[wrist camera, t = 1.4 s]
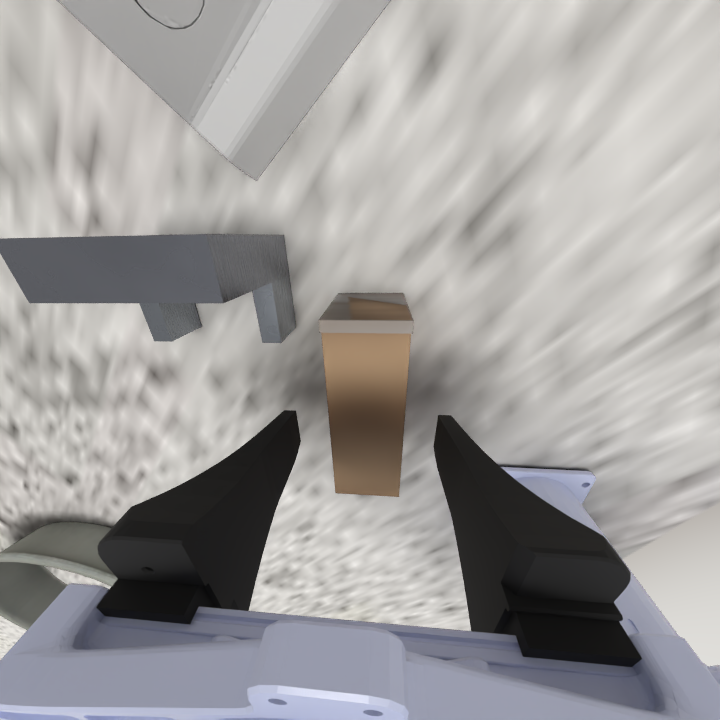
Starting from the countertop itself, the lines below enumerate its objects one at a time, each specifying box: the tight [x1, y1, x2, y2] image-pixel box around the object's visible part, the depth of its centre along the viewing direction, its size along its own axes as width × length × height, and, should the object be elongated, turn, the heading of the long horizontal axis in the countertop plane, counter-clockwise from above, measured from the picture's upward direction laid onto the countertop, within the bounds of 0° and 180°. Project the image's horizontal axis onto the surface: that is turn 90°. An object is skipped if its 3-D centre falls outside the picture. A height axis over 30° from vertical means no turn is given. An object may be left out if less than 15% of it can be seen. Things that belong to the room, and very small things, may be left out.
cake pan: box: [0, 522, 117, 630], centre depth 30 cm, size 25×25×4 cm
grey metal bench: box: [0, 234, 296, 343], centre depth 12 cm, size 5×7×6 cm
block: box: [318, 293, 414, 497], centre depth 14 cm, size 10×4×5 cm, turn 1°
